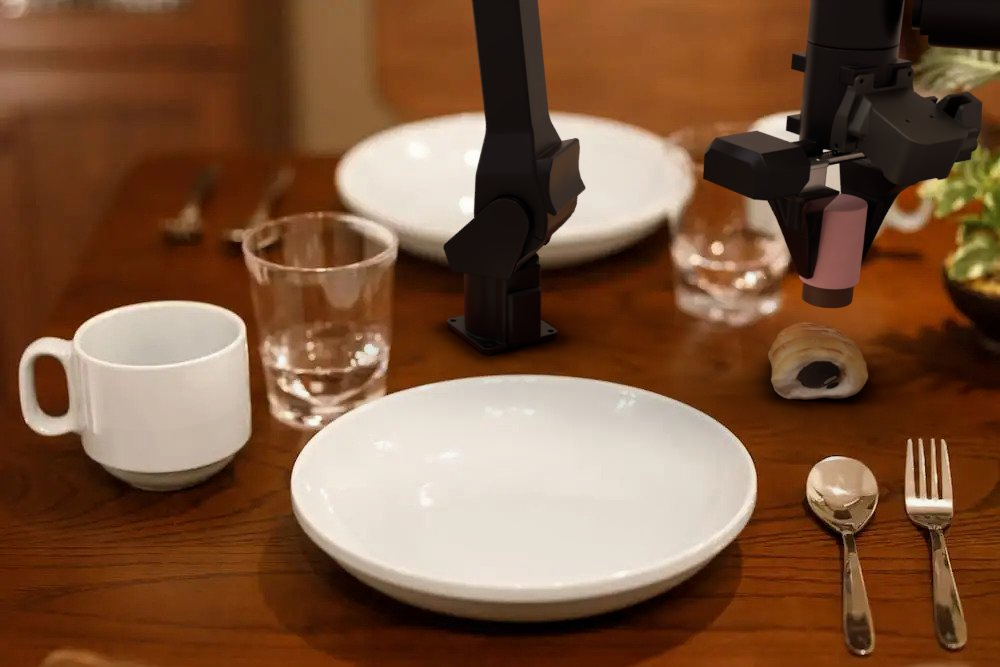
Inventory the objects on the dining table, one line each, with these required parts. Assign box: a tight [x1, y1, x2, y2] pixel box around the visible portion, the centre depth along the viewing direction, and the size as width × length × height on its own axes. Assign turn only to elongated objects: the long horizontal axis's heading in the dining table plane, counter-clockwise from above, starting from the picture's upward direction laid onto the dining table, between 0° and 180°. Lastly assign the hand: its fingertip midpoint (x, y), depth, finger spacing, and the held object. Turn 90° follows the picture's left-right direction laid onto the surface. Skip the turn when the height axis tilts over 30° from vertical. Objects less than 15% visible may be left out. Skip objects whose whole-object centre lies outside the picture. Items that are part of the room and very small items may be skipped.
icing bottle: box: [798, 193, 868, 309], centre depth 88 cm, size 4×4×7 cm
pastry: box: [767, 321, 869, 401], centre depth 93 cm, size 9×7×4 cm
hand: (829, 271), depth 89 cm, fingers closed on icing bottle, 4 cm apart
